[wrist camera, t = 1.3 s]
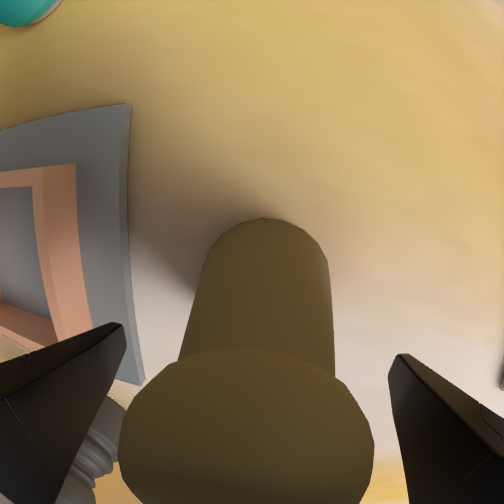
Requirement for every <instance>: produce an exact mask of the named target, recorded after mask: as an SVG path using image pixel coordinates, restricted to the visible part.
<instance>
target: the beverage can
mask: <svg viewBox="0 0 504 504" xmlns="http://www.w3.org/2000/svg"><path fill="white" fill-rule="evenodd" d="M62 1H63V0H0V24H3V25H6V26H10V27H17V26H25V25H31V24H35V23H38V22H40V21H41V20H43V19H45V18H46V17H47V16H49V15H50V14H51V13H52V12H53V11H54V10H55V9H56V8H57V7H58V6H59V5H60V3H61V2H62Z"/></svg>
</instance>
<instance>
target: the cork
mask: <svg viewBox="0 0 504 504" xmlns="http://www.w3.org/2000/svg"><path fill="white" fill-rule="evenodd" d="M374 445H375V444H374V441H373V437H372V433H371V430H370V426H369V422H368V421H367V419H366V417H365V415H364V414H363V412H362V410H361V408H360V407H359V405H358V403H357V402H356V400H355V399H354V397H353V396H352V394H351V393H350V391H349V390H348V388H347V387H346V385H345V384H344V383H342V382H341V381H340V380H338V379H337V378H335V352H334V329H333V312H332V298H331V285H330V276H329V269H328V262H327V259H326V257H325V255H324V253H323V252H322V250H321V248H320V246H319V244H318V243H317V242H316V241H315V240H314V239H313V238H312V237H311V236H310V235H308V234H307V233H306V232H305V231H304V230H303V229H301V228H298V227H296V226H294V225H292V224H290V223H287V222H285V221H280V220H271V219H258V220H253V221H248V222H244V223H240V224H239V225H237V226H235V227H234V228H232V229H230V230H228V231H227V232H225V233H223V235H222V236H221V237H220V238H219V239H218V240H217V242H216V243H215V244H214V245H213V246H212V247H211V249H210V251H209V254H208V257H207V259H206V262H205V265H204V268H203V271H202V274H201V278H200V281H199V285H198V288H197V292H196V295H195V299H194V302H193V306H192V309H191V313H190V316H189V320H188V324H187V327H186V331H185V335H184V339H183V342H182V346H181V350H180V354H179V358H178V361H177V362H174V363H171V364H169V365H167V366H166V367H165V368H164V369H163V370H162V371H161V372H160V373H159V374H158V375H157V376H155V377H154V378H153V379H152V380H151V381H150V382H149V383H148V384H147V385H146V386H145V387H144V388H143V389H142V390H141V391H140V392H139V393H138V394H137V395H136V396H135V397H134V399H133V400H132V402H131V404H130V406H129V407H128V409H127V411H126V413H125V414H124V416H123V421H122V426H121V431H120V437H119V444H118V454H117V456H118V461H119V465H120V470H121V474H122V478H123V480H124V482H125V483H126V484H127V486H128V487H129V489H130V490H131V492H132V493H133V494H134V495H135V496H136V497H137V498H138V499H139V500H140V501H141V502H142V503H143V504H359V503H360V501H361V499H362V497H363V495H364V493H365V492H366V490H367V488H368V486H369V483H370V479H371V474H372V469H373V458H374Z"/></svg>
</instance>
